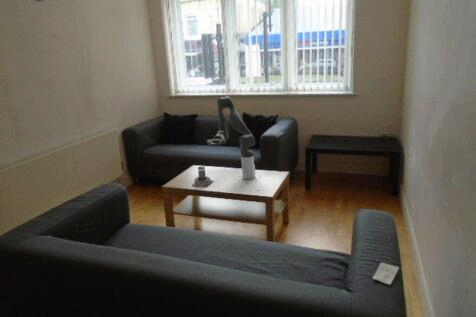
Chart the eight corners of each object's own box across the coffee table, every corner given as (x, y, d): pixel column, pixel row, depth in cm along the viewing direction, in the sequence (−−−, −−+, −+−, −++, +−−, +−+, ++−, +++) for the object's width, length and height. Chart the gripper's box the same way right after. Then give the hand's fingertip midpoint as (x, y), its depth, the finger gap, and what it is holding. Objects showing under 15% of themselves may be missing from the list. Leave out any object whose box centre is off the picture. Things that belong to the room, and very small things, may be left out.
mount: (213, 181, 283) (212, 176, 282) (206, 187, 272) (206, 182, 271) (199, 180, 287) (198, 175, 286) (191, 186, 276) (191, 180, 275)
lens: (207, 181, 281) (205, 166, 278) (204, 183, 276) (202, 168, 273) (201, 181, 283) (199, 166, 279) (198, 183, 278) (196, 168, 275)
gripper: (209, 134, 306) (204, 139, 290) (226, 134, 303) (222, 138, 288) (210, 143, 308) (205, 148, 292) (227, 143, 305) (223, 148, 290)
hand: (213, 143), depth 290 cm, fingers open, 8 cm apart
